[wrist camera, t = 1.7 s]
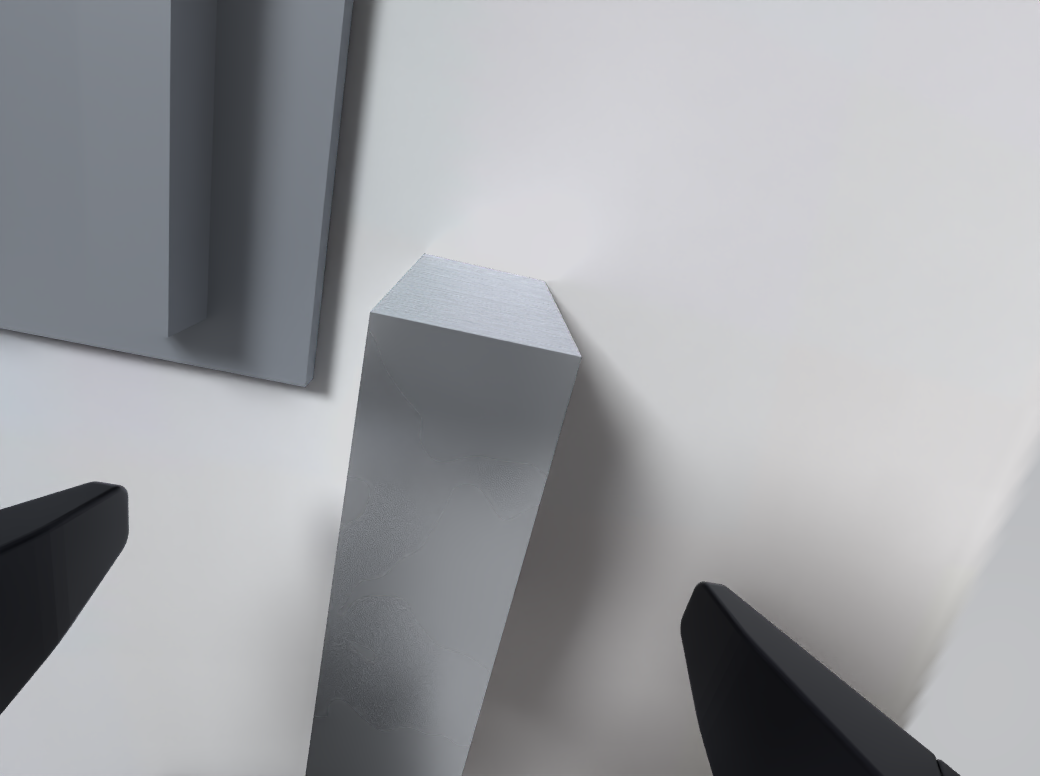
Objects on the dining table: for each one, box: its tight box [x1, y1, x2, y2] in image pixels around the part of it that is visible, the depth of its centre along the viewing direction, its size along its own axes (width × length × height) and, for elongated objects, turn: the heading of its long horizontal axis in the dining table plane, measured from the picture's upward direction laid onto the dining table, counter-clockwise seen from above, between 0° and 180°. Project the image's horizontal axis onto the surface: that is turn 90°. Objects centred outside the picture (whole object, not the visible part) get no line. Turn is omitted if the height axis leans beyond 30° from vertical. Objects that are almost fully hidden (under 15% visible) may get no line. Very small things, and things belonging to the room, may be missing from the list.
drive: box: [306, 253, 582, 776], centre depth 10 cm, size 8×2×5 cm, turn 167°
